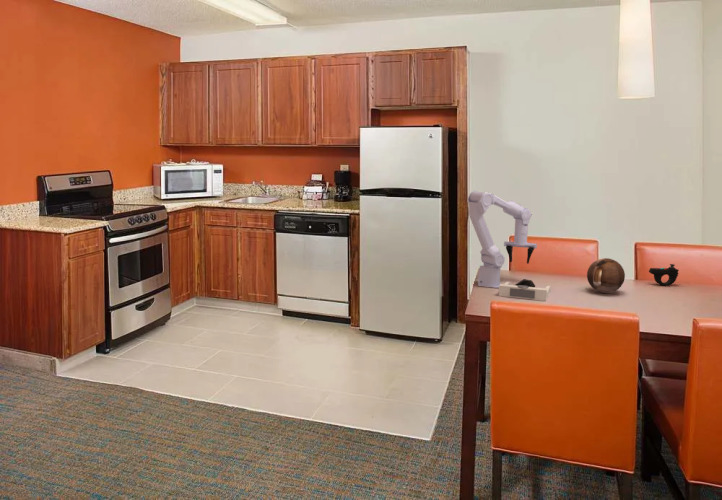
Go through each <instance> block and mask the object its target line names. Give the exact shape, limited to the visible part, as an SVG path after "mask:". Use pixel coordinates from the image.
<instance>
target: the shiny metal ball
mask: <svg viewBox="0 0 722 500" xmlns="http://www.w3.org/2000/svg"><path fill="white" fill-rule="evenodd" d="M586 272H587V273H586V278H587V282H588V284H589V285H590V286H591V288H592V289H594V290H595V291H597V292H600V293H602V294H609V293H613V292H614V293H615V292H616V291H617V290H620V288H621V287H622V286H623V284H624V283H625V278H626V274H625V270H624V267H623V266H622V265H621V264H620V263H619V262H618V261H617V260H615V259H612V258H608V257H602V258H599V259H596V260H594V261H593V262H592V263H591V264H590V265H589V267H588V269H587V271H586Z"/></svg>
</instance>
